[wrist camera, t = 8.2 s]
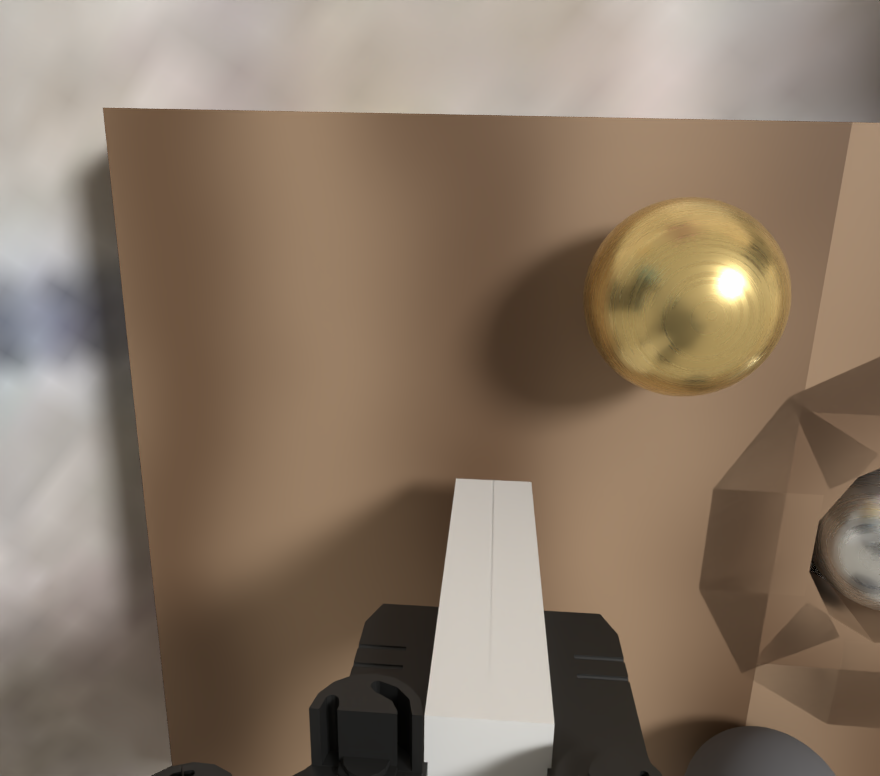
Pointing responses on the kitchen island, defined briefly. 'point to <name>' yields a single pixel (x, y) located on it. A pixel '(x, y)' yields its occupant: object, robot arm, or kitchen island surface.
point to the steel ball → (852, 542)
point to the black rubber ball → (756, 755)
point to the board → (486, 408)
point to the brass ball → (687, 296)
